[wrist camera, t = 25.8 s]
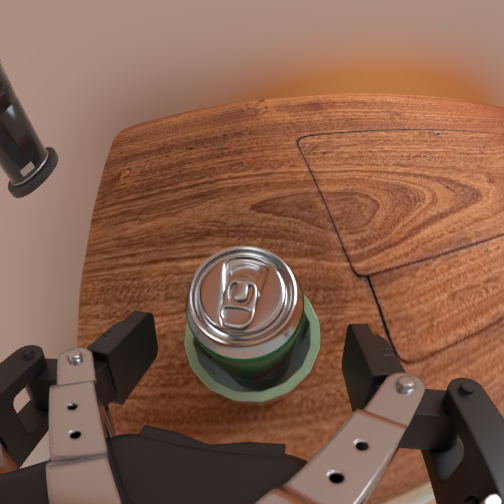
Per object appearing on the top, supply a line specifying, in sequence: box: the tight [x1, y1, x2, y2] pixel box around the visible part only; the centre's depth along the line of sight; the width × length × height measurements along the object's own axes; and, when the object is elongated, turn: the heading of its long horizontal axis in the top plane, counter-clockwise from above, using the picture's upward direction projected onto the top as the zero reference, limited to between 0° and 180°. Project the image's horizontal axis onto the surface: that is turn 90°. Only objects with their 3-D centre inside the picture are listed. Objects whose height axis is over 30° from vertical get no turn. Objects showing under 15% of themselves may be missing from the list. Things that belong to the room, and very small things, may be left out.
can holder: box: [184, 296, 320, 406], centre depth 20 cm, size 8×8×6 cm
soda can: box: [185, 246, 304, 388], centre depth 16 cm, size 5×5×12 cm
